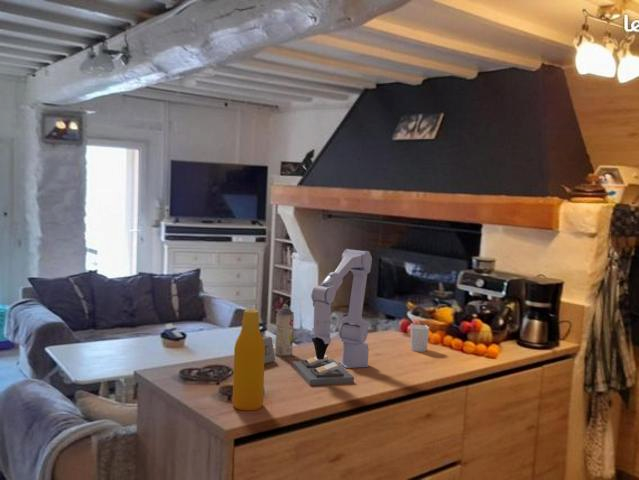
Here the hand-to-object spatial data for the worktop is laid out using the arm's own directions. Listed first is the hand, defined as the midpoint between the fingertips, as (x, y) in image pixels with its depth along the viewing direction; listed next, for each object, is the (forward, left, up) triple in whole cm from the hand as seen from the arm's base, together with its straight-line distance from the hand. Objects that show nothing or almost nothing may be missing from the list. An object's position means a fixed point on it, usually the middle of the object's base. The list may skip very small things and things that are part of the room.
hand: (320, 358), depth 207 cm
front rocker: (-3, 0, -5) cm, 6 cm away
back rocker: (-3, -11, -5) cm, 12 cm away
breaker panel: (-3, -5, -7) cm, 10 cm away
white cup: (-55, -30, -8) cm, 63 cm away
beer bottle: (+29, +20, -8) cm, 36 cm away
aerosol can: (+4, -32, -8) cm, 34 cm away
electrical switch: (+15, -23, -8) cm, 29 cm away
